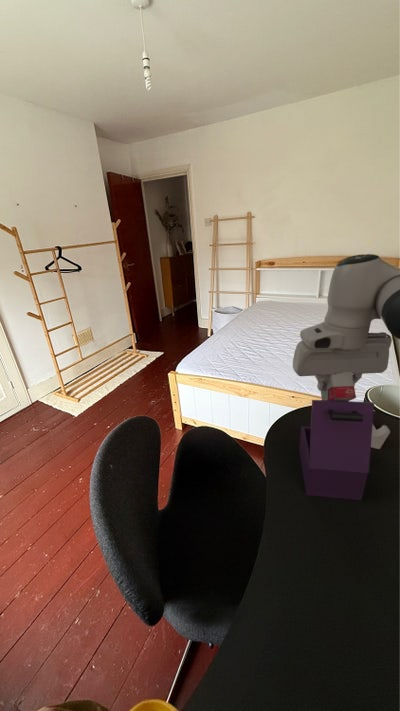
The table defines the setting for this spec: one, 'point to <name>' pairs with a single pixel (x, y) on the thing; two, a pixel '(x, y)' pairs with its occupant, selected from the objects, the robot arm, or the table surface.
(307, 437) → the box
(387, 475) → the table surface
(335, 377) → the ink box
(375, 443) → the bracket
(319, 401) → the lid
